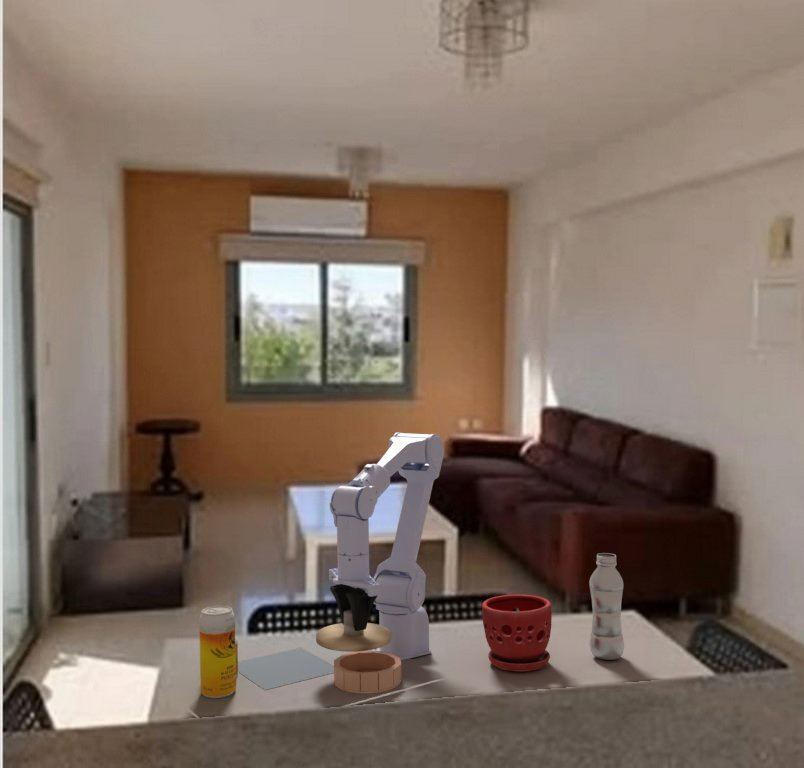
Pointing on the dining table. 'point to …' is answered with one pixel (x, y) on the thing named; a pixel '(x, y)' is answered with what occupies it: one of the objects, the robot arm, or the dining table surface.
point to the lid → (352, 636)
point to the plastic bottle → (606, 609)
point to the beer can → (217, 651)
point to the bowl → (367, 671)
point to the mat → (284, 668)
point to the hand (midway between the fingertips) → (354, 626)
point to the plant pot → (517, 631)
